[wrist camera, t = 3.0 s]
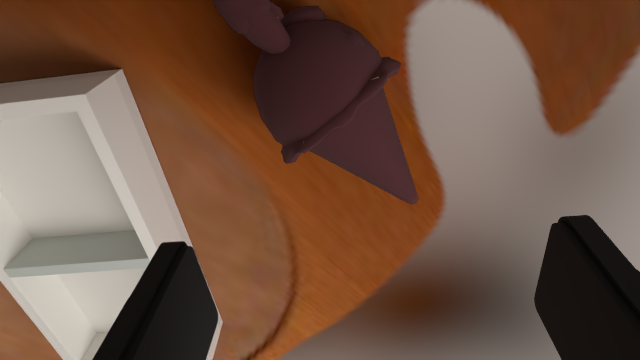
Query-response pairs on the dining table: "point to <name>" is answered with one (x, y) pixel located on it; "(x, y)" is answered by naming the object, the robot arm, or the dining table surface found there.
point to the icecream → (323, 91)
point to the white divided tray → (79, 205)
